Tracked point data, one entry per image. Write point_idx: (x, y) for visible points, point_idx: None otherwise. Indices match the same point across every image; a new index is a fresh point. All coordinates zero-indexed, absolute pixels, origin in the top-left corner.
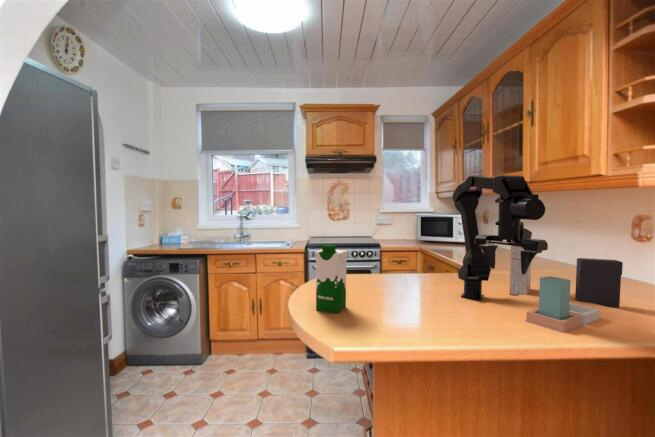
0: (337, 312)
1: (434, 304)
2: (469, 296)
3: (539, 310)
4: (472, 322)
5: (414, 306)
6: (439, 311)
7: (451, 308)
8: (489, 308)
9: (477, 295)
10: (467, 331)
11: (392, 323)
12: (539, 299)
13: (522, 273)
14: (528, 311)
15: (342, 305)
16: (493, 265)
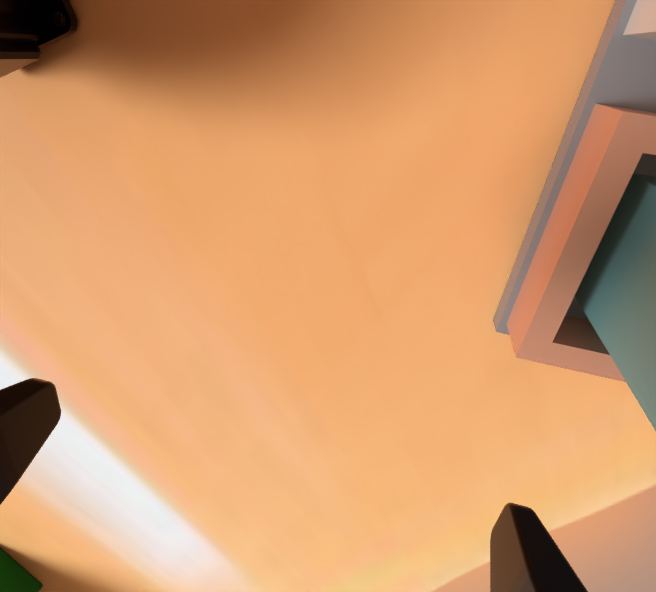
0: (38, 586)
1: (53, 337)
2: (11, 71)
3: (604, 336)
4: (305, 441)
5: None
6: (142, 407)
7: (132, 336)
8: (229, 173)
9: (19, 4)
10: (344, 524)
11: (167, 573)
12: (636, 393)
13: (500, 555)
14: (525, 342)
15: (6, 577)
16: (21, 442)
